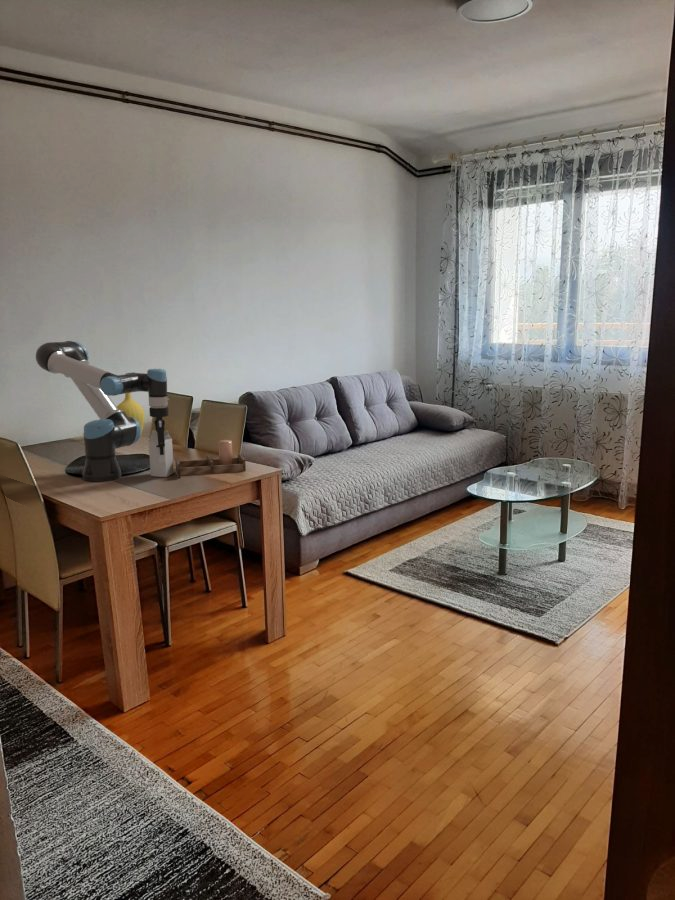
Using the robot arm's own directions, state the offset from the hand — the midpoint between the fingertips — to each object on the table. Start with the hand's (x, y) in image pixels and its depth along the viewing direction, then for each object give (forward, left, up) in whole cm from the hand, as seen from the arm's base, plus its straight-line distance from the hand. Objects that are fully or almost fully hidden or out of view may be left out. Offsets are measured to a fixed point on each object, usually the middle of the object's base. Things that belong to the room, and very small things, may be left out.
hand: (161, 459), depth 277 cm
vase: (-12, +92, -7) cm, 93 cm away
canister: (+27, -1, -5) cm, 27 cm away
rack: (+20, -1, -7) cm, 21 cm away
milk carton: (0, 0, -7) cm, 7 cm away
